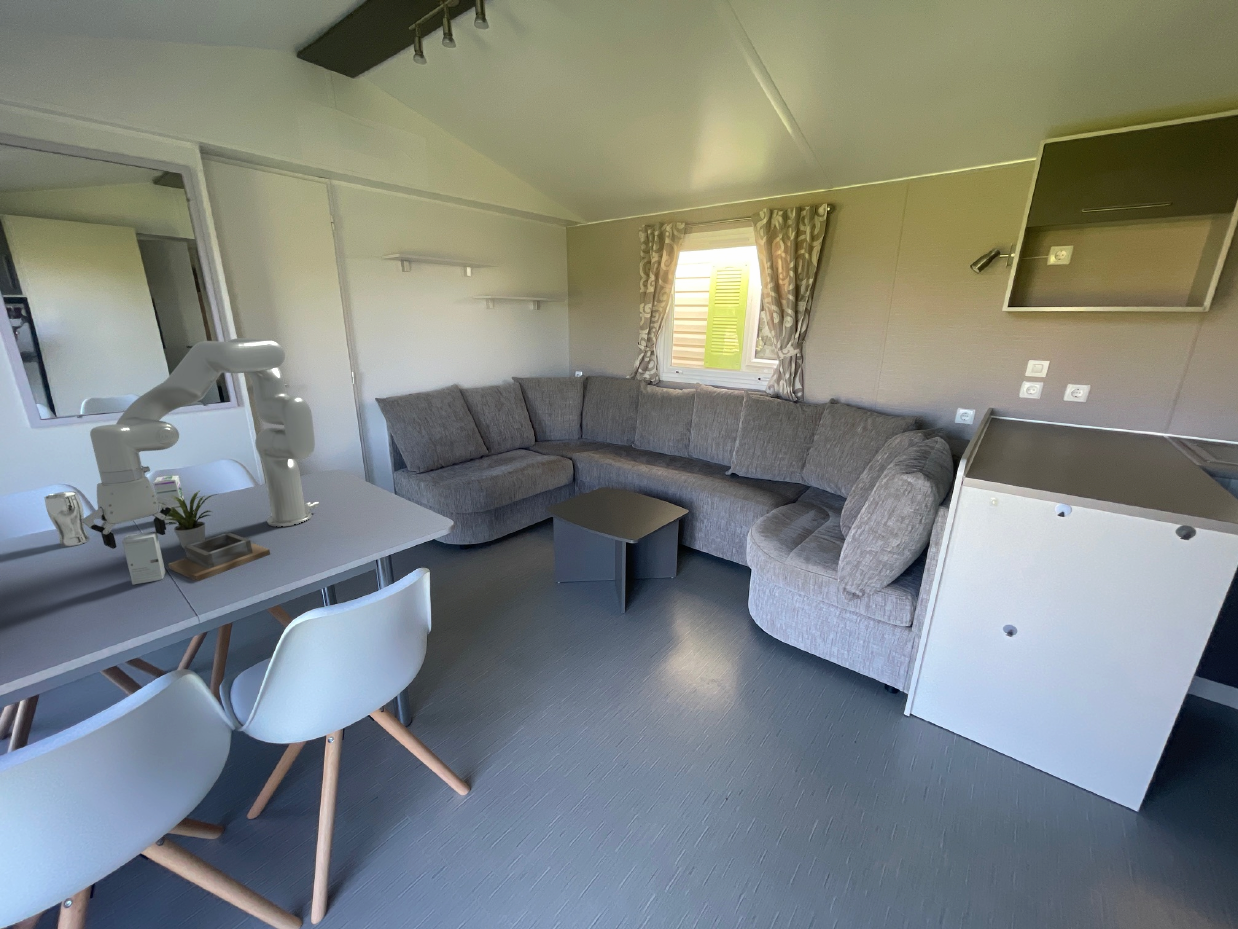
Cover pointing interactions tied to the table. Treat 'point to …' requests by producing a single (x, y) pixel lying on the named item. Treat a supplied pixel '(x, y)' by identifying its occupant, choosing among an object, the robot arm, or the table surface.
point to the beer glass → (67, 517)
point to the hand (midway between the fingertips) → (137, 540)
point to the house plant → (188, 521)
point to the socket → (217, 556)
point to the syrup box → (169, 491)
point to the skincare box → (144, 557)
